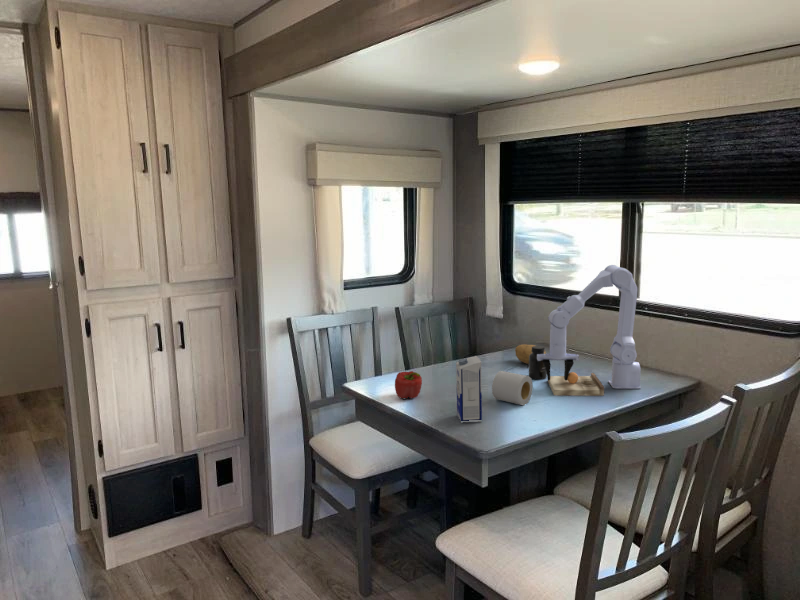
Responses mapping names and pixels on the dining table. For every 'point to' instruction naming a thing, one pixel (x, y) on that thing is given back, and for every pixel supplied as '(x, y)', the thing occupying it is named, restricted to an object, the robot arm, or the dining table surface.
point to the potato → (524, 352)
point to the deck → (576, 386)
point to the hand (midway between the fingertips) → (557, 379)
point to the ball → (572, 377)
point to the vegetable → (408, 384)
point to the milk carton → (469, 389)
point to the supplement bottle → (537, 364)
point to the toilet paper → (512, 387)
